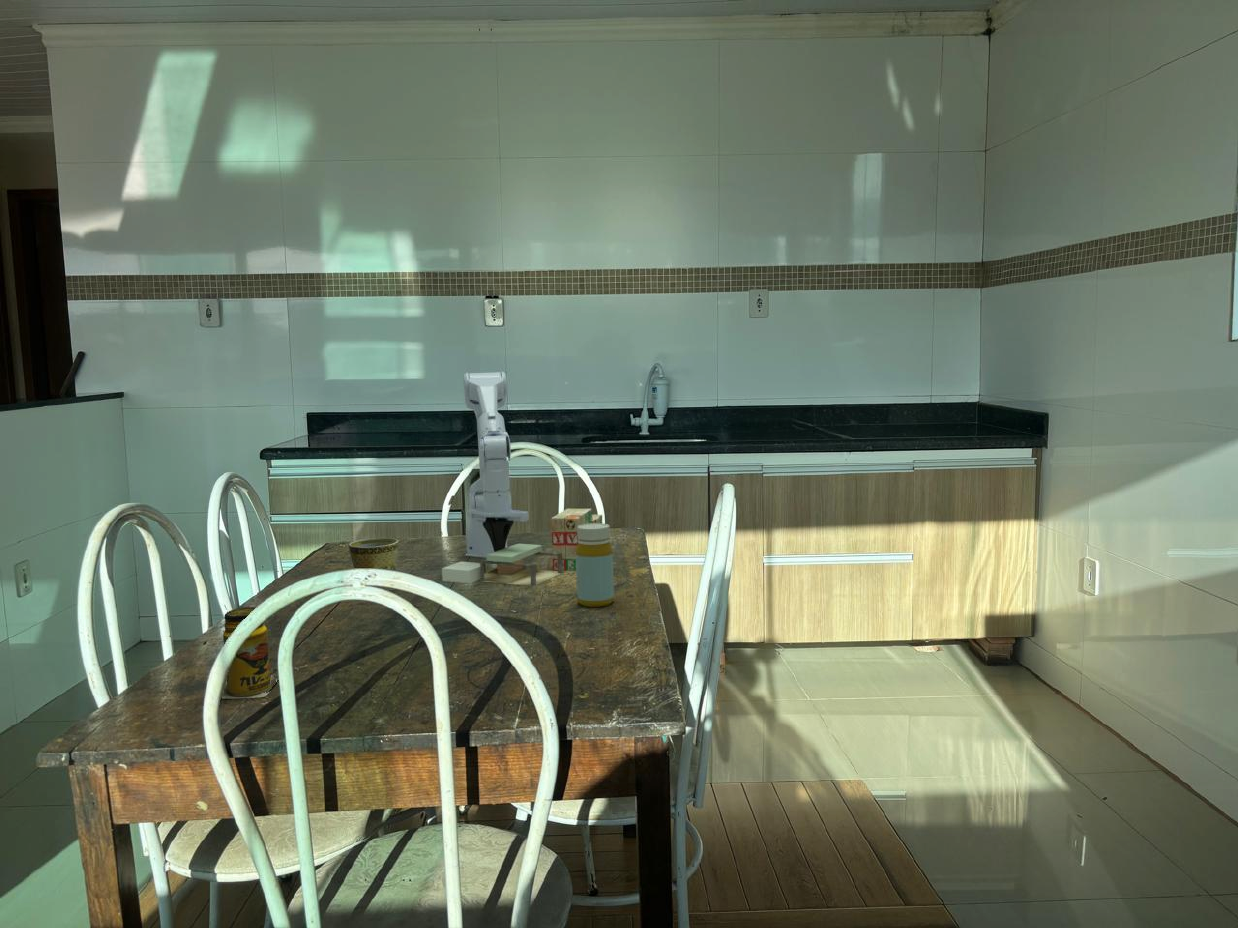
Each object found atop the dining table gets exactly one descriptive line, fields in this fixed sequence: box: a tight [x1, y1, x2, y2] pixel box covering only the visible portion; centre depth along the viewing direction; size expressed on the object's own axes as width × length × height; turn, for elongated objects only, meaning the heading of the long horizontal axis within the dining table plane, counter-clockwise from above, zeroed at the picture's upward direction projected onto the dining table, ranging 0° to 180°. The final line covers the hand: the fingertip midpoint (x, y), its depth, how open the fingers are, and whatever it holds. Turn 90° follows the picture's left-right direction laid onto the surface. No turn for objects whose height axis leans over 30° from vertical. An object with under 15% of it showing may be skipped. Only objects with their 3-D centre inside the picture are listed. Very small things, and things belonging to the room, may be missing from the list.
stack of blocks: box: [550, 508, 604, 571], centre depth 218 cm, size 21×6×12 cm, turn 166°
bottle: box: [575, 522, 615, 608], centre depth 181 cm, size 7×7×15 cm
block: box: [496, 558, 524, 575], centre depth 205 cm, size 4×4×4 cm
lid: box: [486, 543, 543, 563], centre depth 204 cm, size 6×13×1 cm, turn 154°
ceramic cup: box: [348, 537, 399, 571], centre depth 198 cm, size 13×10×10 cm
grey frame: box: [479, 551, 565, 587], centre depth 204 cm, size 13×13×5 cm
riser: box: [441, 561, 489, 584], centre depth 204 cm, size 7×7×3 cm
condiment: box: [221, 606, 278, 700], centre depth 138 cm, size 7×8×12 cm
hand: (499, 552), depth 206 cm, fingers closed
